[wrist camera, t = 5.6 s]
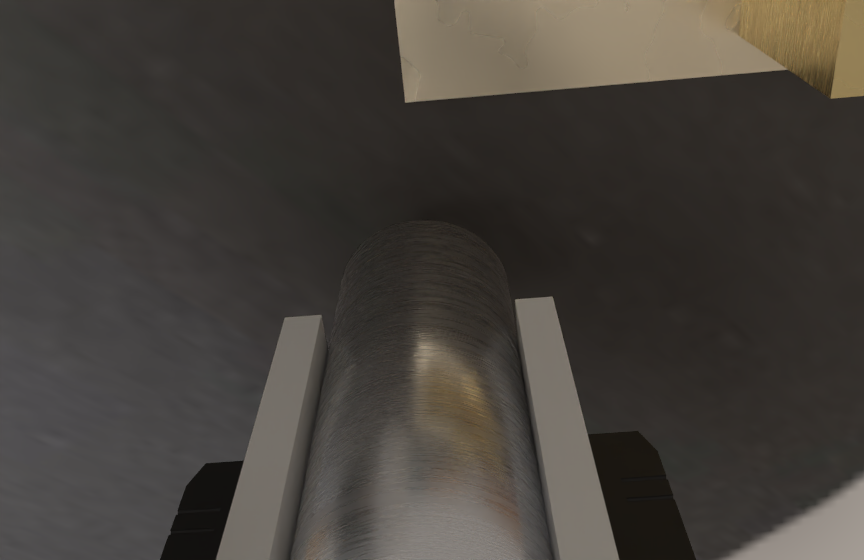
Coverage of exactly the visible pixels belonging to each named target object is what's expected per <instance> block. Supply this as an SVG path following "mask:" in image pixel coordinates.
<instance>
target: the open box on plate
mask: <svg viewBox="0 0 864 560" xmlns="http://www.w3.org/2000/svg"><path fill="white" fill-rule="evenodd" d="M394 4H395V13H396V22H397V31H398V40H399V49H400V58H401V67H402V77H403V86H404V95H405V103H407V102H418V101H430V100H442V99H453V98H465V97H476V96H488V95H500V94H511V93H523V92H534V91H546V90H557V89H569V88H581V87H592V86H604V85H615V84H627V83H639V82H650V81H662V80H673V79H685V78H697V77H708V76H720V75H731V74H743V73H755V72H766V71H778V70H789V71H791V72H792V73H794V74H795V75H797V76H798V77H800V78H801V79H803V80H804V81H805V82H807V83H808V84H810V85H811V86H813V87H814V88H816V89H817V90H819V91H820V92H822V93H823V94H824V95H826V96H827V97H829V98H830V99H831V98H843V97H855V96H864V0H394Z"/></svg>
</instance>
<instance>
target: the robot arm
mask: <svg viewBox="0 0 864 560" xmlns="http://www.w3.org/2000/svg"><path fill="white" fill-rule="evenodd" d="M515 310H516V332H517V344H518V350H519V356H520V362H521V368H522V374H523V380H524V386H525V392H526V398H527V404H528V410H529V416H530V422H531V428H532V434H533V440H534V446H535V452H536V458H537V464H538V471H539V477H540V483H541V489H542V495H543V501H544V507H545V513H546V519H547V525H548V531H549V537H550V543H551V549H552V555H553V560H696V558H695V555H694V553H693V550H692V547H691V544H690V541H689V539H688V536H687V533H686V530H685V527H684V524H683V522H682V519H681V516H680V513H679V510H678V508H677V505H676V502H675V500H674V499H673V494H672V491H671V488H670V485H669V482H668V480H666V474H665V471H664V468H663V465H662V463H661V460H660V457H659V454H658V451H657V450H656V449H655V448H654V447H653V446H652V445H651V444H650V443H649V442H648V441H647V440H646V439H645V438H644V437H643V436H642V435H641V434H640V433H639V432H638V431H632V432H618V433H604V434H590V435H588V434H587V430H586V426H585V422H584V418H583V414H582V411H581V407H580V403H579V399H578V395H577V391H576V387H575V383H574V379H573V375H572V371H571V367H570V363H569V359H568V355H567V351H566V347H565V343H564V339H563V336H562V332H561V328H560V324H559V320H558V316H557V312H556V308H555V304H554V300H553V297H540V298H527V299H515ZM328 352H329V351H328V346H327V341H326V336H325V331H324V326H323V320H322V315H311V316H299V317H286V318H285V319H284V322H283V326H282V329H281V333H280V336H279V340H278V343H277V347H276V350H275V354H274V357H273V361H272V364H271V368H270V371H269V375H268V378H267V382H266V385H265V389H264V392H263V396H262V399H261V403H260V406H259V410H258V413H257V417H256V420H255V424H254V427H253V431H252V435H251V438H250V442H249V445H248V449H247V452H246V456H245V459H244V461H234V462H220V463H206V464H205V465H204V466H203V467H202V468H201V470H200V471H199V472H198V473H197V474H196V475H195V477H194V478H193V479H192V480H191V481H190V482H189V484H188V485H187V486H186V489H185V491H184V494H183V497H182V500H181V503H180V505H179V508H178V515H176V517H175V519H174V522H173V525H172V528H171V535H169V536H168V539H167V542H166V544H165V547H164V550H163V553H162V555H161V558H160V560H290V557H291V552H292V546H293V541H294V535H295V530H296V525H297V519H298V514H299V508H300V503H301V498H302V492H303V487H304V481H305V476H306V471H307V465H308V460H309V454H310V449H311V444H312V438H313V433H314V427H315V422H316V417H317V411H318V406H319V401H320V395H321V390H322V384H323V379H324V374H325V368H326V363H327V357H328Z"/></svg>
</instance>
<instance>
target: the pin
mask: <svg viewBox="0 0 864 560" xmlns="http://www.w3.org/2000/svg"><path fill="white" fill-rule="evenodd" d="M290 560H553V555H552V549H551V543H550V537H549V531H548V525H547V519H546V513H545V507H544V501H543V495H542V489H541V483H540V477H539V471H538V464H537V458H536V452H535V446H534V440H533V434H532V428H531V422H530V416H529V410H528V404H527V398H526V392H525V386H524V380H523V374H522V368H521V362H520V356H519V350H518V344H517V334H516V328H515V322H514V316H513V310H512V304H511V298H510V292H509V286H508V280H507V276H506V273H505V270H504V267H503V265H502V263H501V261H500V259H499V258H498V256H497V255H496V253H495V252H494V251H493V250H492V249H491V247H490V246H489V245H488V244H487V243H486V242H484V241H483V240H482V239H481V238H480V237H478V236H477V235H475V234H474V233H472V232H470V231H468V230H466V229H464V228H462V227H460V226H457V225H454V224H451V223H446V222H442V221H434V220H414V221H407V222H402V223H399V224H395V225H392V226H390V227H387V228H385V229H383V230H381V231H379V232H377V233H375V234H374V235H372V236H371V237H370V238H368V239H367V240H366V241H364V242H363V243H362V244H361V245H360V246H359V247H358V248H357V250H356V251H355V252H354V254H353V255H352V256H351V258H350V260H349V261H348V263H347V265H346V268H345V270H344V273H343V277H342V282H341V287H340V293H339V298H338V303H337V309H336V314H335V320H334V325H333V330H332V336H331V341H330V347H329V352H328V357H327V363H326V368H325V374H324V379H323V384H322V390H321V395H320V401H319V406H318V411H317V417H316V422H315V427H314V433H313V438H312V444H311V449H310V454H309V460H308V465H307V471H306V476H305V481H304V487H303V492H302V498H301V503H300V508H299V514H298V519H297V525H296V530H295V535H294V541H293V546H292V552H291V557H290Z"/></svg>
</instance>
